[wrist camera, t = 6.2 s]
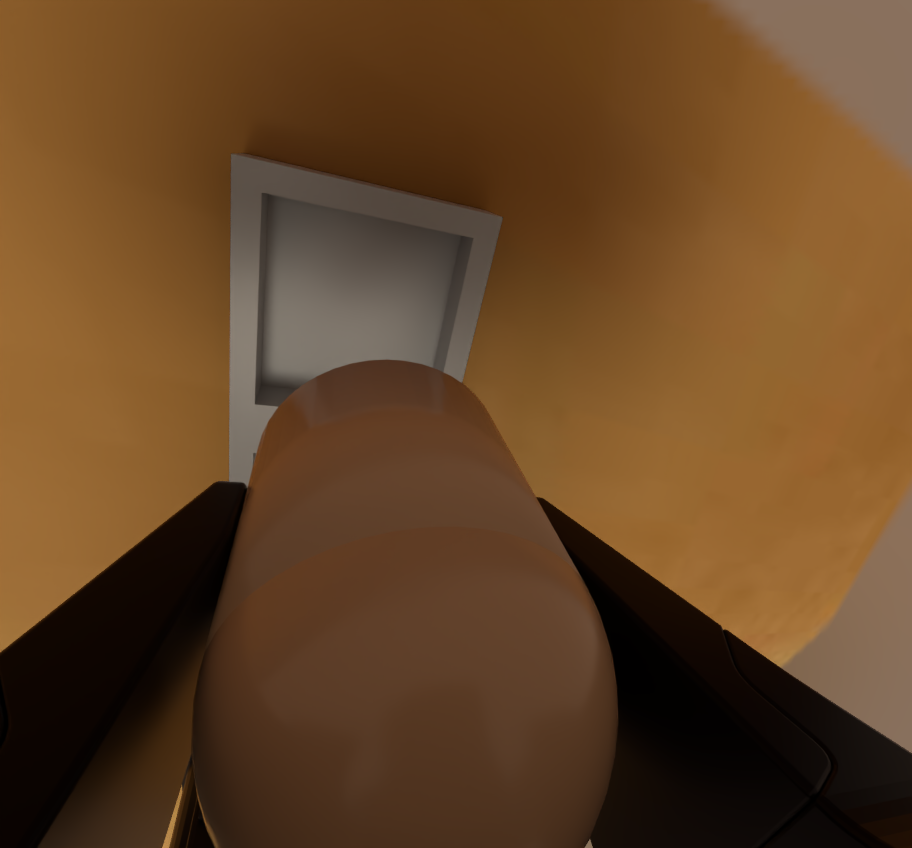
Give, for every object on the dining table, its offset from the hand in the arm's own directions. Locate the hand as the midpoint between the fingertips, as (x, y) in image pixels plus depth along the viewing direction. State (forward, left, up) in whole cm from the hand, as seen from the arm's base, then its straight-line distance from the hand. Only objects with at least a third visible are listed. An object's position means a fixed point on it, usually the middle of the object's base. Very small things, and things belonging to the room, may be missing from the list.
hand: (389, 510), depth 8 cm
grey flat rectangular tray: (-4, 0, -12) cm, 12 cm away
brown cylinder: (0, 0, -1) cm, 1 cm away
